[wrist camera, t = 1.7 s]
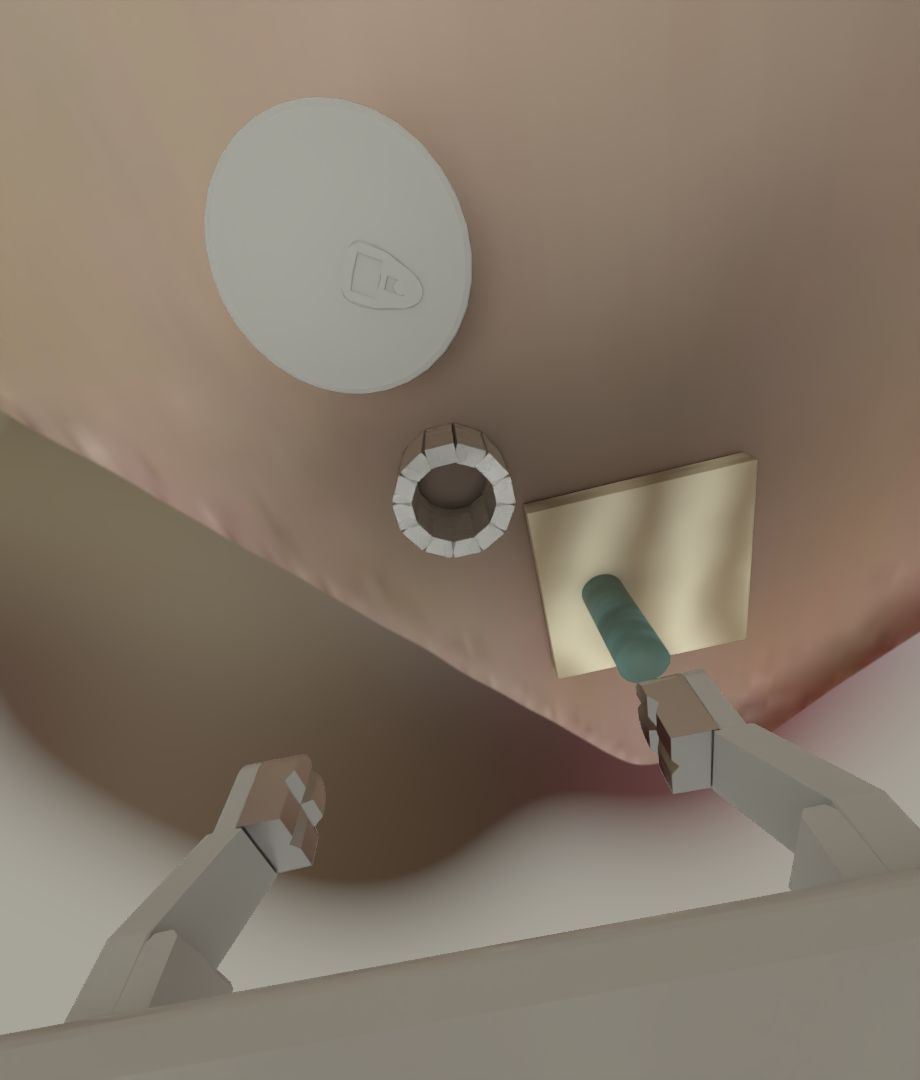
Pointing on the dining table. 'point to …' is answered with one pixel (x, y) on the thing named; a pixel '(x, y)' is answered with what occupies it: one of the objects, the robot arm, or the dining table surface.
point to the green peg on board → (646, 566)
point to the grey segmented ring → (462, 525)
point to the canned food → (338, 245)
